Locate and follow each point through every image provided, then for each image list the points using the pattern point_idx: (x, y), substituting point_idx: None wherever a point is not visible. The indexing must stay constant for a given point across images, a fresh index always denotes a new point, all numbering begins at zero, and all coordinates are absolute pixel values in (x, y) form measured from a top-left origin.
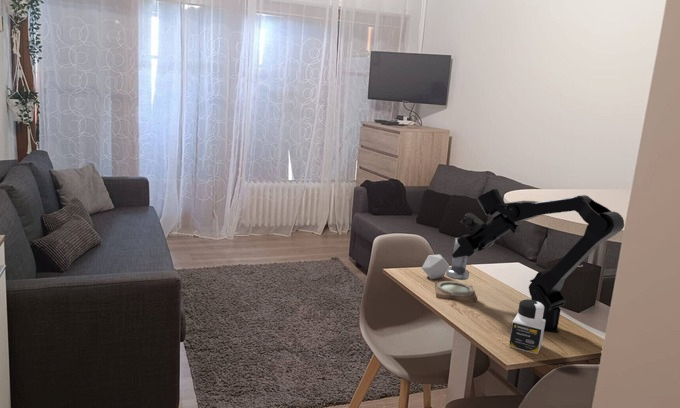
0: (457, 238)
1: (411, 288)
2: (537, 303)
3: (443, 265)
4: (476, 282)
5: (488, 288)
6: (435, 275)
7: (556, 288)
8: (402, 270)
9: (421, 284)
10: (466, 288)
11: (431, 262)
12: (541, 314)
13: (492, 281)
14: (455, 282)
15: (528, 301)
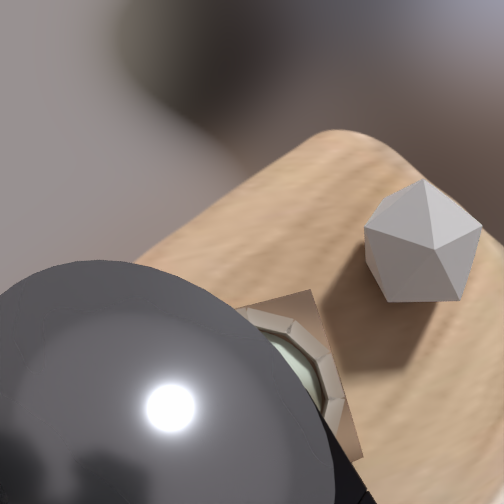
0: (113, 321)
1: (192, 223)
2: None
3: (415, 278)
4: (454, 433)
5: (412, 499)
6: (373, 270)
7: None
8: (374, 156)
9: (269, 244)
10: None
11: (390, 214)
12: None
13: (492, 468)
14: (327, 386)
15: None
